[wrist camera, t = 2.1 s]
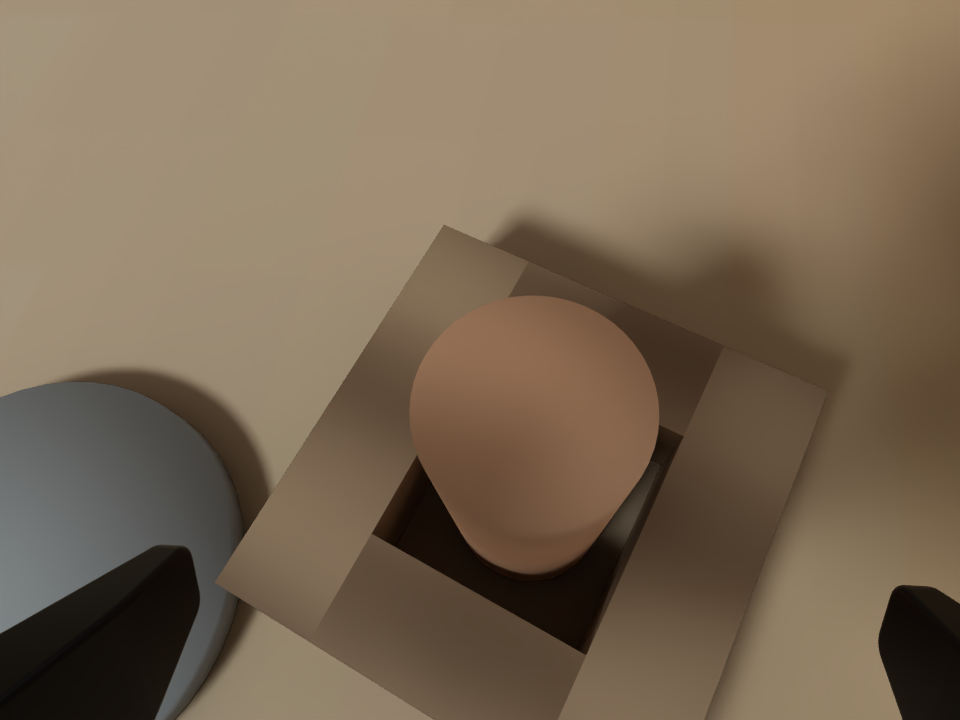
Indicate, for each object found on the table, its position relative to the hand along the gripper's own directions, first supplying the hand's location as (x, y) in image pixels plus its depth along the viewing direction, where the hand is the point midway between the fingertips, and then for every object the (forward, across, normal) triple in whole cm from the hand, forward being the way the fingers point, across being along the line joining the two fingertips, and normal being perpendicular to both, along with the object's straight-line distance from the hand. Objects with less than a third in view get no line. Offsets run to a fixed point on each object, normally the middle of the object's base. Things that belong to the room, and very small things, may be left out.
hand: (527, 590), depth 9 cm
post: (+9, 0, +5) cm, 11 cm away
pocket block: (+9, 0, +5) cm, 11 cm away
